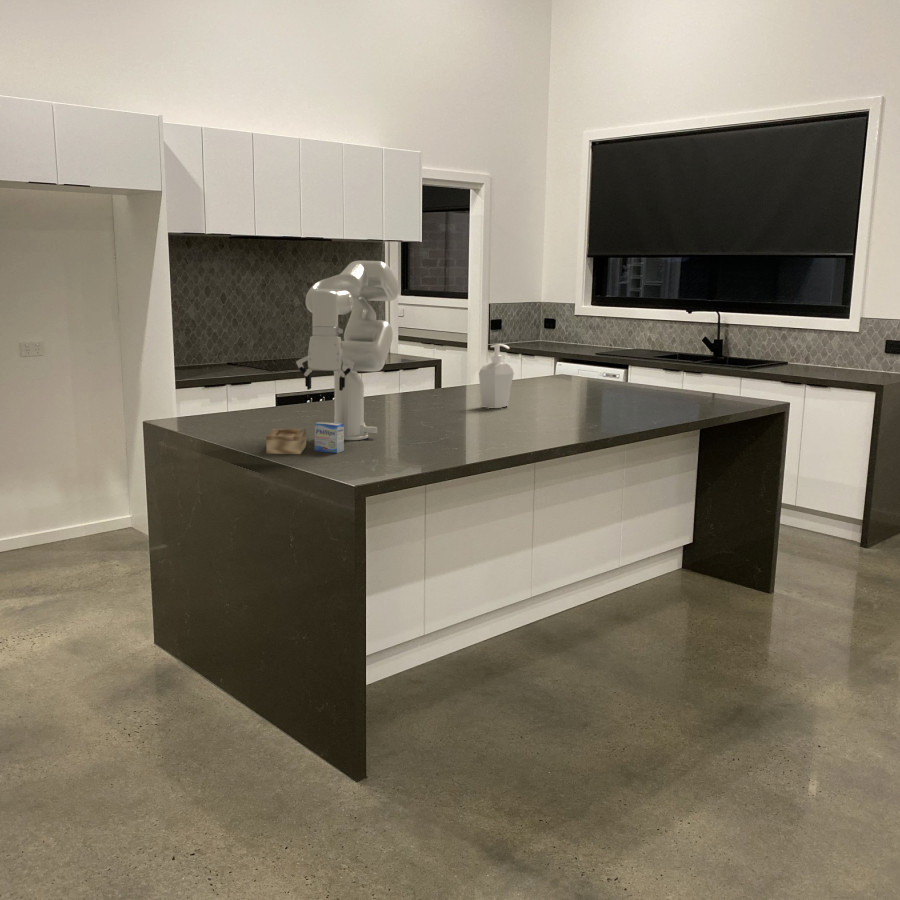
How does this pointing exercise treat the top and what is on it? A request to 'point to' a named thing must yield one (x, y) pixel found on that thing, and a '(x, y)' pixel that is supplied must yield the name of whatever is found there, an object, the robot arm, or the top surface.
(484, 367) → the soap bottle
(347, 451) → the top surface
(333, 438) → the medicine box
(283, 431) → the block
